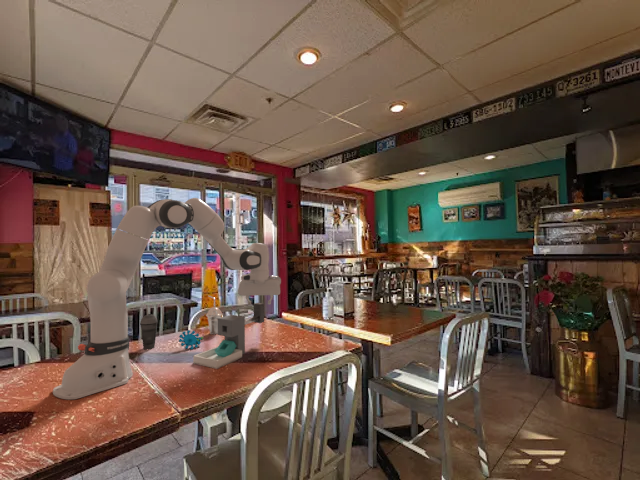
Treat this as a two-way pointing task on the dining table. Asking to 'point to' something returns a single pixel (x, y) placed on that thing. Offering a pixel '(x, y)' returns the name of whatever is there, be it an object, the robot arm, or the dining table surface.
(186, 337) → the teal virus model
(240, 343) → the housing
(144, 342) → the beverage cup
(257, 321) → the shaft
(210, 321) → the cup with straw
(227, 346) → the spacer
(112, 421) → the dining table surface
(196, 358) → the tray
